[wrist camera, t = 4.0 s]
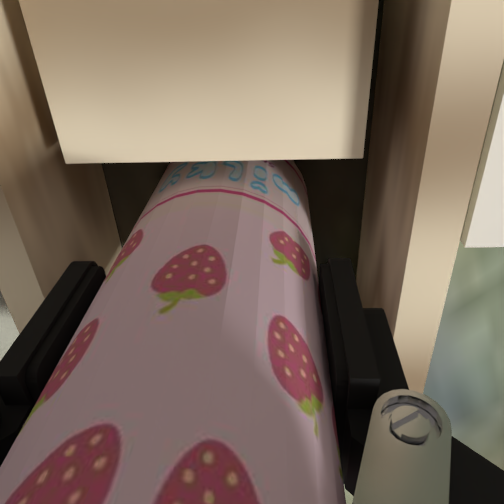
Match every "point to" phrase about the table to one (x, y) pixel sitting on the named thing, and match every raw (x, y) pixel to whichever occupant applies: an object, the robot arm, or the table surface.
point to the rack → (377, 180)
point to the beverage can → (194, 358)
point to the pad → (489, 185)
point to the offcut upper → (205, 77)
